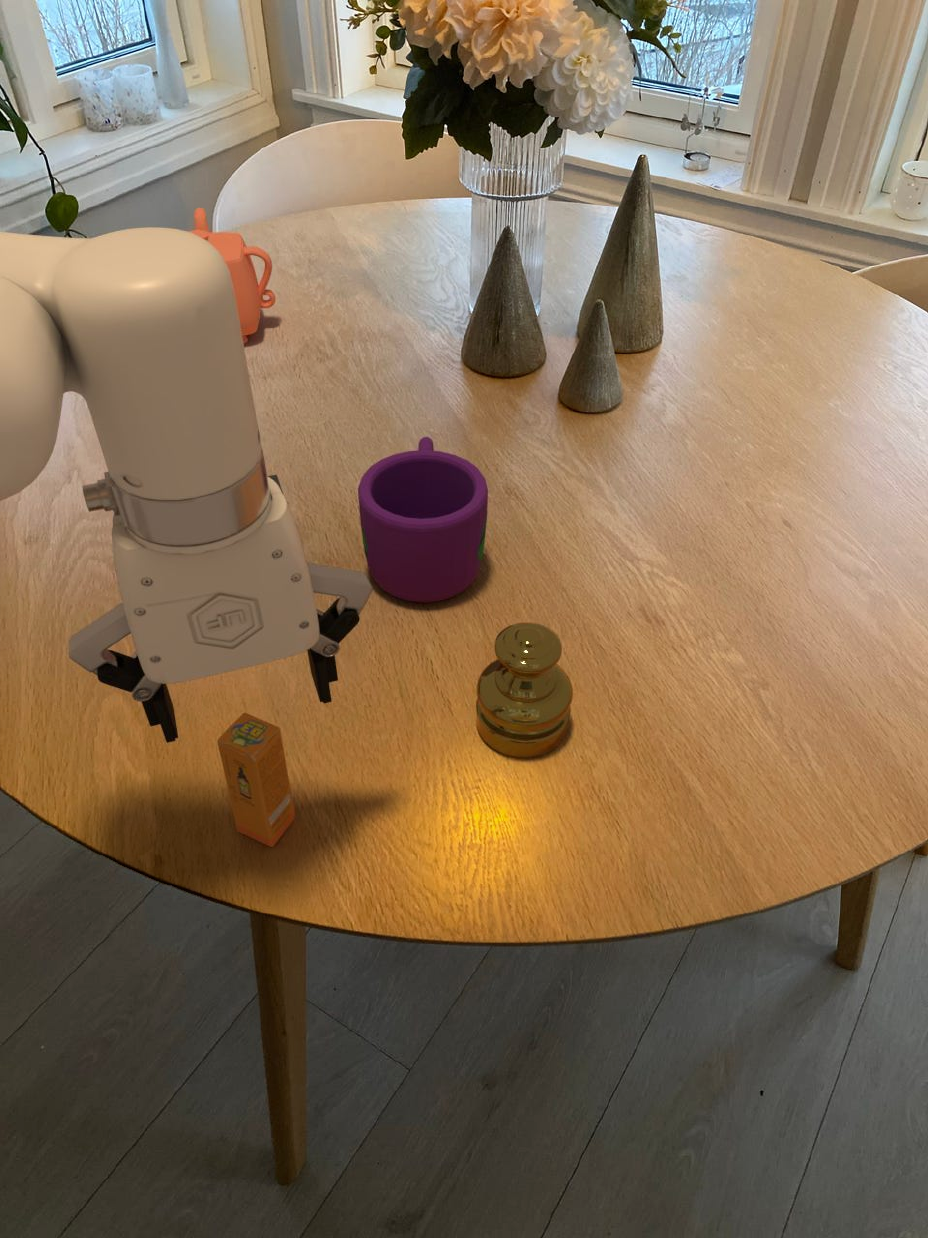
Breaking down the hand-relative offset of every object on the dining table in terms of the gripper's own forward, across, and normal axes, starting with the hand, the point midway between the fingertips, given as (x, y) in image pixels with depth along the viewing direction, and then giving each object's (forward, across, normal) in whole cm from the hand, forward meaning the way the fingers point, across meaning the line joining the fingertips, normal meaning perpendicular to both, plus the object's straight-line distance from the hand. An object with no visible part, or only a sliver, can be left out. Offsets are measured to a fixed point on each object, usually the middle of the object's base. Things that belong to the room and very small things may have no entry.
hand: (247, 706), depth 61 cm
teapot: (+13, +6, +77) cm, 78 cm away
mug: (+13, +19, +26) cm, 35 cm away
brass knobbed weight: (+13, +20, +3) cm, 25 cm away
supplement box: (+13, -1, 0) cm, 13 cm away
